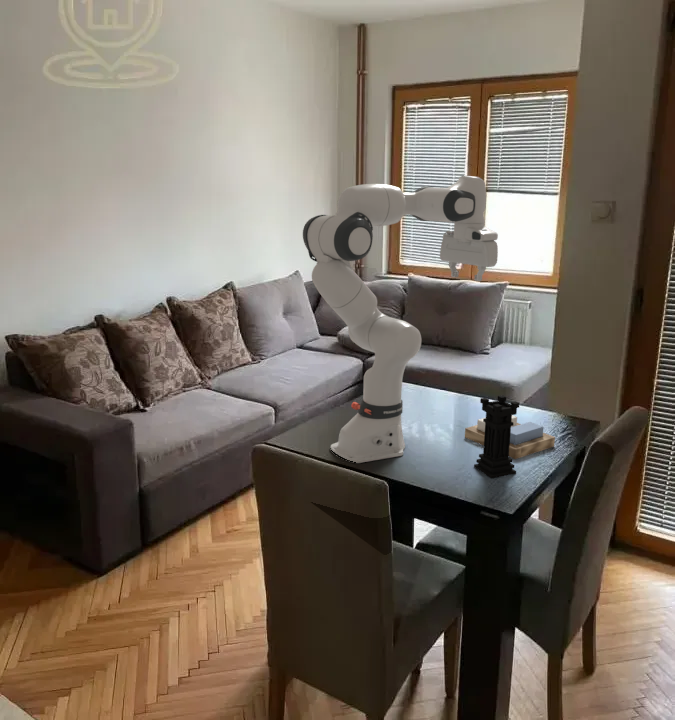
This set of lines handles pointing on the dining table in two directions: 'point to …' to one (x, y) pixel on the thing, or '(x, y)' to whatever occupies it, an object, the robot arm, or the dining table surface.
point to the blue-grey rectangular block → (525, 432)
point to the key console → (515, 450)
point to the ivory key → (482, 424)
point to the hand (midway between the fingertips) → (466, 278)
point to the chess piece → (497, 438)
